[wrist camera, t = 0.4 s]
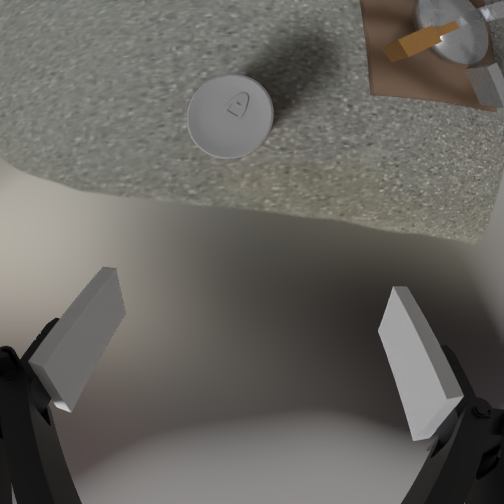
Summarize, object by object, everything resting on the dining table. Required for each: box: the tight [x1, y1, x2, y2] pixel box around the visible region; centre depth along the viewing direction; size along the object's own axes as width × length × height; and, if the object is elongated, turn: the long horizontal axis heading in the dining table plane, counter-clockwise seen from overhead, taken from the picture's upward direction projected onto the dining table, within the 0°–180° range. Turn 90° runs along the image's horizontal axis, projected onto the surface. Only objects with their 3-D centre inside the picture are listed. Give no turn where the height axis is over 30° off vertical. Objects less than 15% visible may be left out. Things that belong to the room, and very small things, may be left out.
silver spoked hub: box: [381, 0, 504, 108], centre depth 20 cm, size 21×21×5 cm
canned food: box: [187, 74, 274, 159], centre depth 29 cm, size 8×8×11 cm
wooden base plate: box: [360, 0, 497, 112], centre depth 25 cm, size 20×20×4 cm
